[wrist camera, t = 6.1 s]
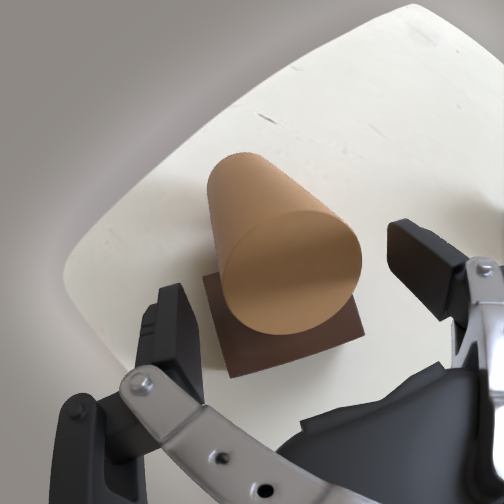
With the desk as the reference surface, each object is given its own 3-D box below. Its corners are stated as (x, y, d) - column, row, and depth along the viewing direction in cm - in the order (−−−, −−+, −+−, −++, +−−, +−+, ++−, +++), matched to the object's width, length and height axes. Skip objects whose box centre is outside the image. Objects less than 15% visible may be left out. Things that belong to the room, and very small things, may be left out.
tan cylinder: (321, 321, 20) (400, 299, 8) (249, 344, 20) (235, 354, 8) (270, 172, 23) (276, 46, 12) (206, 188, 23) (167, 69, 11)
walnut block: (346, 336, 20) (366, 335, 16) (235, 370, 19) (230, 378, 15) (320, 256, 21) (333, 238, 17) (212, 287, 21) (201, 276, 17)
